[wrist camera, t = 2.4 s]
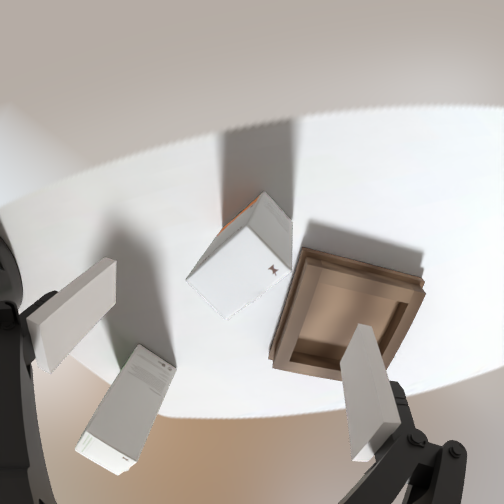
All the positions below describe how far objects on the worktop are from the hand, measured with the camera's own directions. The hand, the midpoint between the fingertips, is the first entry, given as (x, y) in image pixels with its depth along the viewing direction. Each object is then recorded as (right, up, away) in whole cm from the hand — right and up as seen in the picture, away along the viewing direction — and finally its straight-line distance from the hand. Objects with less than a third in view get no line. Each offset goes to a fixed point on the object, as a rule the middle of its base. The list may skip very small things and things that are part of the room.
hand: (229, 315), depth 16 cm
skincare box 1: (-13, -13, +25) cm, 31 cm away
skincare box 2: (+2, +6, +16) cm, 17 cm away
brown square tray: (+11, -4, +18) cm, 22 cm away
